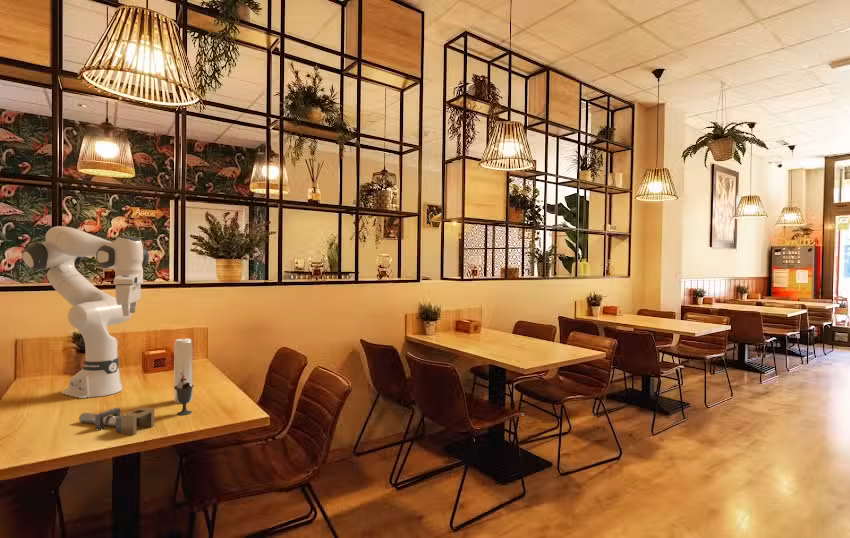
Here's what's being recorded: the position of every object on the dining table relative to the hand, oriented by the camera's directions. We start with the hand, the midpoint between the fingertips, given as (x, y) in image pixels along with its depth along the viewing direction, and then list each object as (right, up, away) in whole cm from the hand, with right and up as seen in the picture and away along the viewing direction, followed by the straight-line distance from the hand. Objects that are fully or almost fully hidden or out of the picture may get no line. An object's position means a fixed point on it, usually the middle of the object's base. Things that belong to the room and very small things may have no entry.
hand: (129, 314), depth 178 cm
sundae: (+24, -37, -5) cm, 44 cm away
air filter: (+16, -36, +9) cm, 40 cm away
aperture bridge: (+17, -37, -22) cm, 46 cm away
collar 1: (+5, -36, -19) cm, 41 cm away
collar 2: (+13, -37, -21) cm, 44 cm away
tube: (+3, -36, -19) cm, 41 cm away
